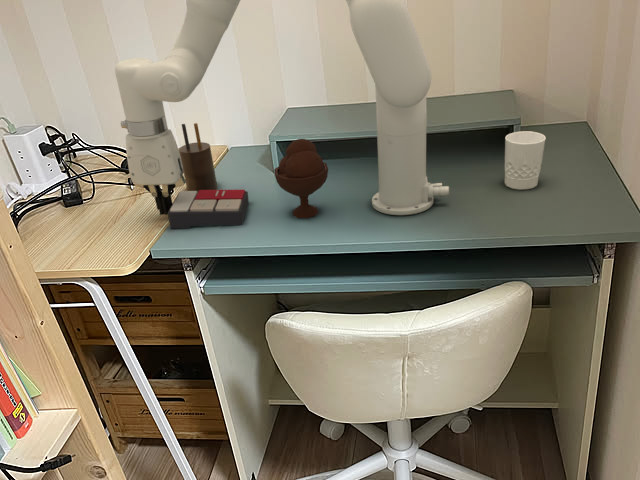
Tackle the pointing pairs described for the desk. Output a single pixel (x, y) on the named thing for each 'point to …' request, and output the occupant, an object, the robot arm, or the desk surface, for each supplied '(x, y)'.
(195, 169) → the pencil cup
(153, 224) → the desk surface
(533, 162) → the white cup
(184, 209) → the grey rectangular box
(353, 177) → the desk surface
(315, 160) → the ice cream bowl
